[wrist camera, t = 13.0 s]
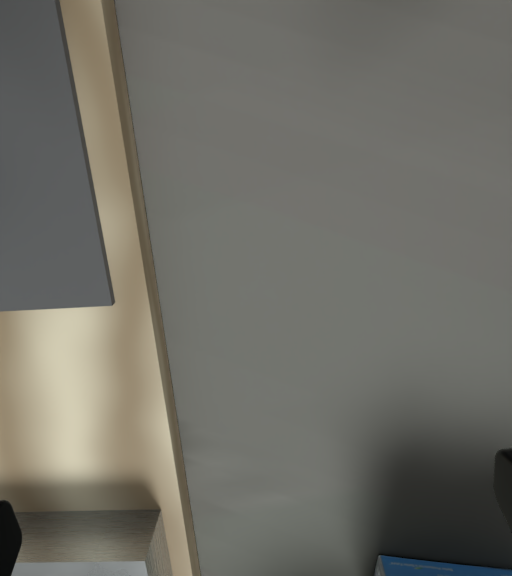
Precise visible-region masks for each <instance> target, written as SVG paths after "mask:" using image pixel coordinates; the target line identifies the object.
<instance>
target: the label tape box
mask: <svg viewBox="0 0 512 576" xmlns="http://www.w3.org/2000/svg"><path fill="white" fill-rule="evenodd" d="M374 576H512V570H511V569H501V568H491V567H481V566H469V565H459V564H450V563H442V562H433V561H424V560H416V559H407V558H398V557H391V556H384V555H379V556H378V560H377V564H376V568H375V574H374Z"/></svg>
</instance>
